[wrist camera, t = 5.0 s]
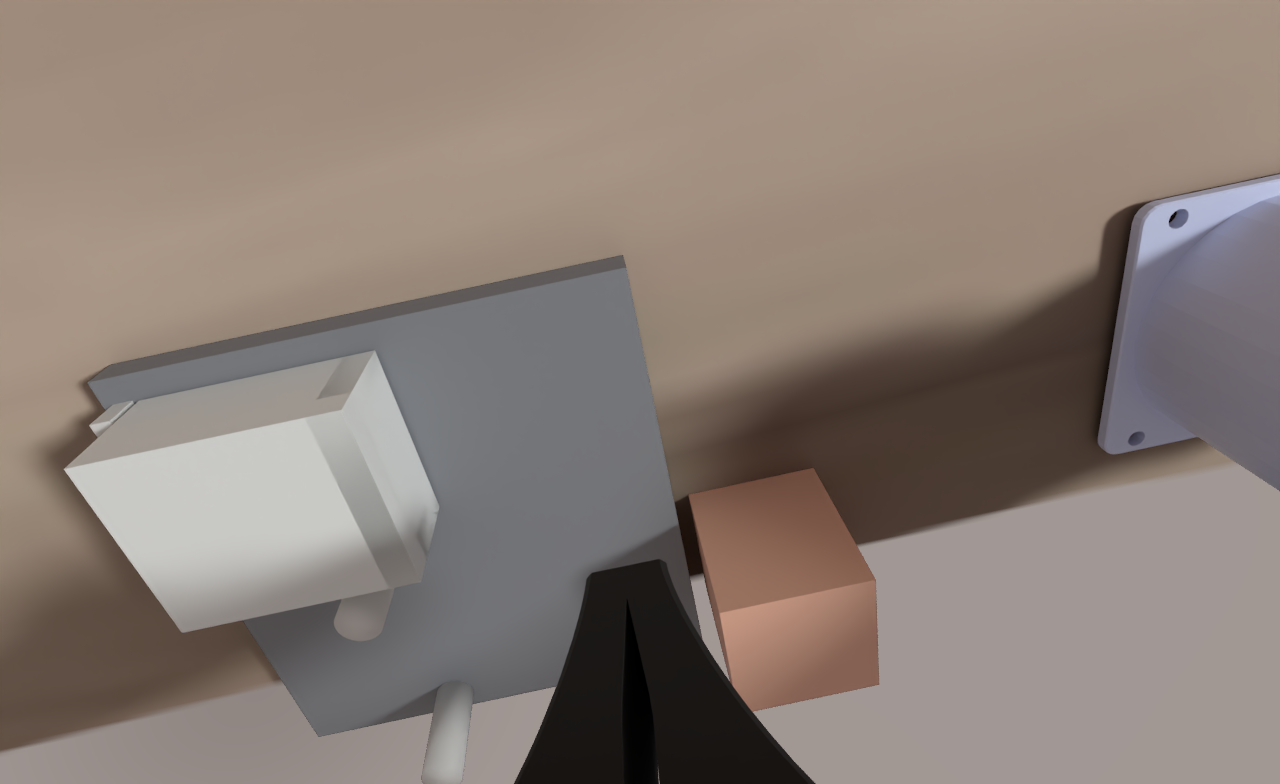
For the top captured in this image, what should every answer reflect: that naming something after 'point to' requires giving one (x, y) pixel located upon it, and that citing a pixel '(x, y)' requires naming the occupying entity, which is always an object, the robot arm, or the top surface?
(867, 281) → the top surface
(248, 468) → the cover
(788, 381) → the top surface
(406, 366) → the deck
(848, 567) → the block
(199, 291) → the top surface
